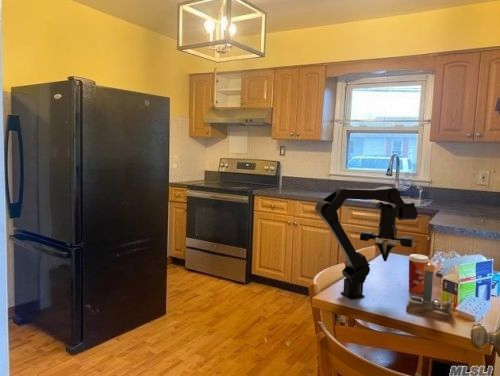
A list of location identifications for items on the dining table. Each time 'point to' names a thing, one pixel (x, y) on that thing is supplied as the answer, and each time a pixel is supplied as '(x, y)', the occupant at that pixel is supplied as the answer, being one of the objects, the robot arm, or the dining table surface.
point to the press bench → (429, 308)
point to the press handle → (429, 286)
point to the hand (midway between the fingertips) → (385, 261)
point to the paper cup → (417, 272)
